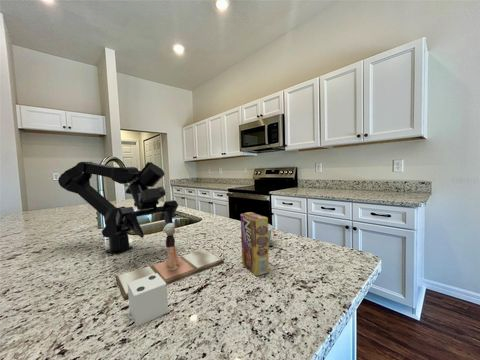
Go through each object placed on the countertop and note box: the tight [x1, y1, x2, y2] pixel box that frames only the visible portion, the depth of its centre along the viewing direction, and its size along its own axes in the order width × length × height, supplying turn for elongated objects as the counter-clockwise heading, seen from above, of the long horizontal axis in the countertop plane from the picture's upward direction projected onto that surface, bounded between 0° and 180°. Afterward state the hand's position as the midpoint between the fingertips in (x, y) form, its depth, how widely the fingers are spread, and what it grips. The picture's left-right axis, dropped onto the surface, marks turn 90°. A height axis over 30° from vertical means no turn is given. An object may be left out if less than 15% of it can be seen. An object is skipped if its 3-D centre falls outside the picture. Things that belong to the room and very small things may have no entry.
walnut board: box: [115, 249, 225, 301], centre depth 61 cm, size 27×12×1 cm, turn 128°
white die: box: [127, 273, 169, 327], centre depth 44 cm, size 6×6×6 cm
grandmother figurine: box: [162, 222, 179, 271], centre depth 61 cm, size 8×4×13 cm, turn 36°
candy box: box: [240, 211, 270, 277], centre depth 60 cm, size 9×4×15 cm, turn 26°
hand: (158, 233), depth 66 cm, fingers open, 9 cm apart
